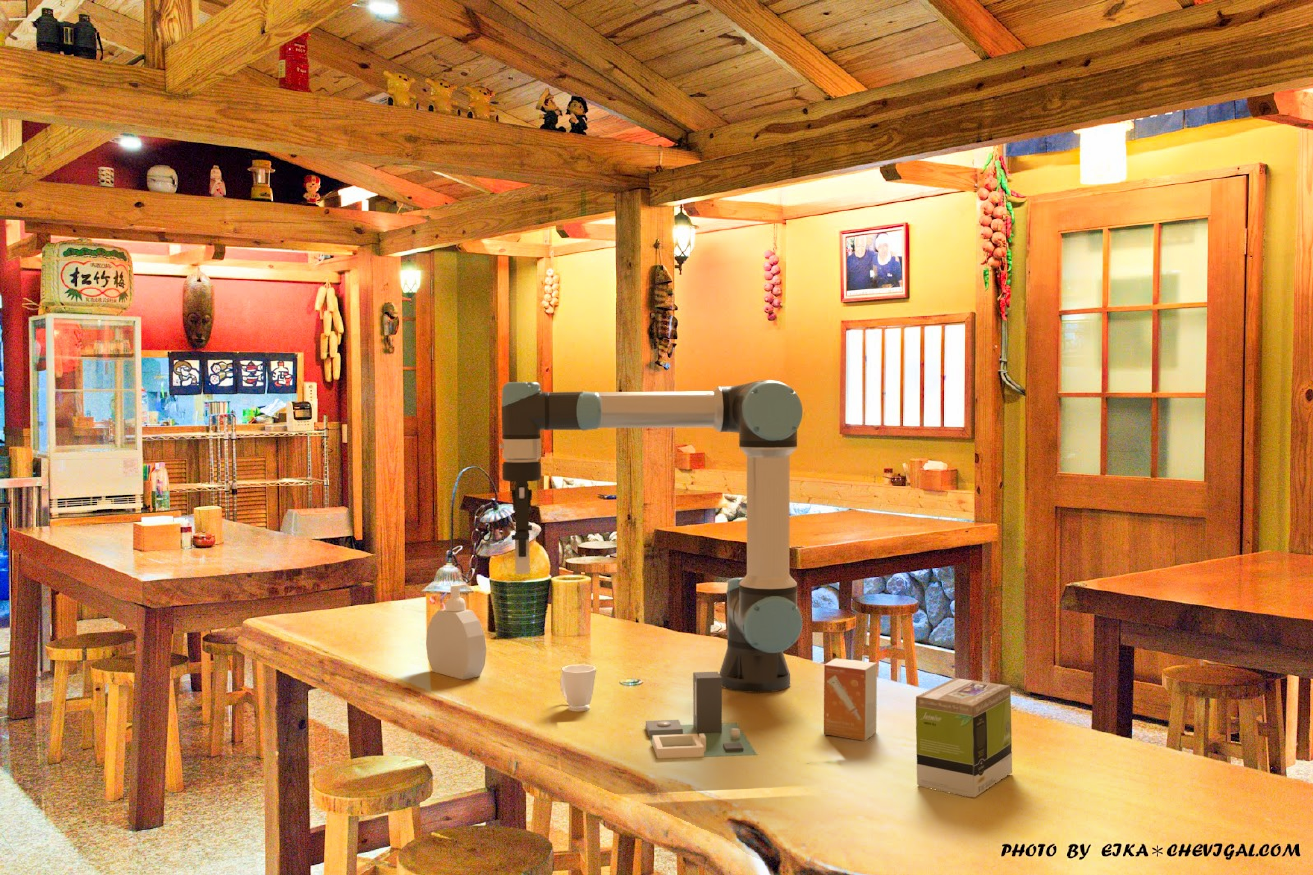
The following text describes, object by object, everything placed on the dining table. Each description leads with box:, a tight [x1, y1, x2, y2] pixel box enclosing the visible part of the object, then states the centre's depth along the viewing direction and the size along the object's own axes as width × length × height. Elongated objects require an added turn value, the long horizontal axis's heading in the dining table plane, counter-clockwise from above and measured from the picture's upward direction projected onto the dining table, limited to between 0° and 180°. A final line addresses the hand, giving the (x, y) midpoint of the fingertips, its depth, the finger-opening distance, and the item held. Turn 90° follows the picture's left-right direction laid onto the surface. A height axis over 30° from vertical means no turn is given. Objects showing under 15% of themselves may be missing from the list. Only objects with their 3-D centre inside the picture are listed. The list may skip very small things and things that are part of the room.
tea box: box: [915, 677, 1013, 798], centre depth 183 cm, size 15×10×15 cm
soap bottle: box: [425, 583, 487, 681], centre depth 256 cm, size 16×5×20 cm, turn 46°
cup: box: [559, 663, 597, 713], centre depth 228 cm, size 7×10×8 cm
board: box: [644, 722, 758, 760], centre depth 202 cm, size 17×19×3 cm
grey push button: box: [645, 719, 683, 739], centre depth 205 cm, size 6×10×3 cm, turn 7°
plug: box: [692, 671, 723, 734], centre depth 208 cm, size 4×4×10 cm
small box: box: [823, 657, 878, 742], centre depth 209 cm, size 8×6×13 cm
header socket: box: [651, 733, 706, 759], centre depth 196 cm, size 9×8×2 cm
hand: (522, 568), depth 226 cm, fingers open, 13 cm apart
